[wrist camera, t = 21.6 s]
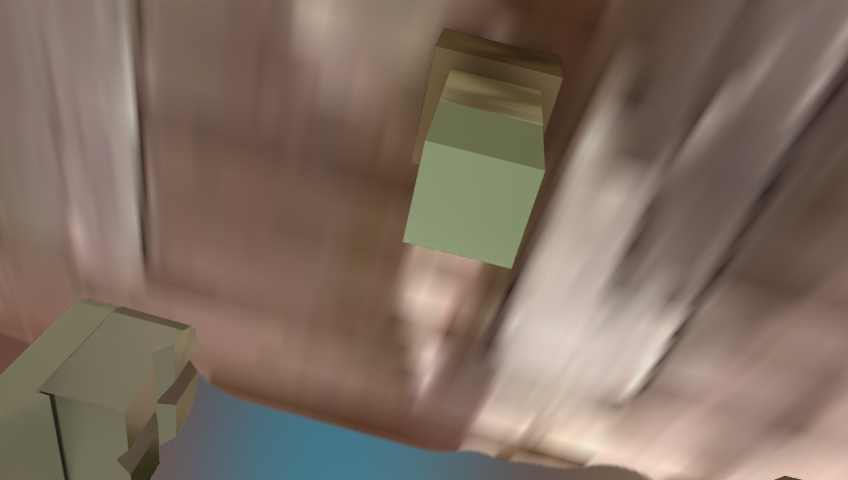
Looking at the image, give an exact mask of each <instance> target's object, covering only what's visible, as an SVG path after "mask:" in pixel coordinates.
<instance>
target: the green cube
mask: <svg viewBox="0 0 848 480" xmlns="http://www.w3.org/2000/svg"><path fill="white" fill-rule="evenodd" d="M544 173H545V157H544V141H543V126H542V125H539V124H535V123H531V122H527V121H523V120H518V119H514V118H510V117H506V116H502V115H498V114H494V113H490V112H486V111H482V110H478V109H474V108H470V107H466V106H462V105H458V104H454V103H450V102H446V101H442V100H440V101H439V103H438V106H437V109H436V112H435V115H434V117H433V120H432V123H431V126H430V129H429V131H428V134H427V137H426V140H425V144H424V148H423V153H422V157H421V162H420V167H419V171H418V176H417V180H416V185H415V189H414V194H413V198H412V203H411V207H410V212H409V216H408V221H407V225H406V230H405V234H404V239H403V242H406V243H410V244H414V245H418V246H422V247H426V248H430V249H434V250H438V251H442V252H446V253H450V254H454V255H458V256H462V257H466V258H470V259H474V260H478V261H482V262H486V263H490V264H494V265H498V266H502V267H506V268H510V269H511V268H512V265H513V262H514V259H515V256H516V253H517V251H518V248H519V245H520V242H521V239H522V236H523V233H524V231H525V228H526V225H527V222H528V219H529V216H530V213H531V210H532V208H533V205H534V202H535V199H536V196H537V193H538V190H539V187H540V185H541V182H542V179H543V176H544Z"/></svg>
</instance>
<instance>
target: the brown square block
mask: <svg viewBox="0 0 848 480" xmlns="http://www.w3.org/2000/svg"><path fill="white" fill-rule="evenodd" d="M451 69H454V70H458V71H462V72H466V73H471V74H475V75H479V76H483V77H487V78H491V79H495V80H499V81H503V82H507V83H511V84H515V85H519V86H523V87H527V88H531V89H535V90H539V91H541V102H542V117H543V137H544V134H545V131H546V128H547V125H548V122H549V119H550V116H551V113H552V110H553V107H554V104H555V101H556V98H557V95H558V92H559V89H560V86H561V83H562V80H563V73H562V67H561V61H560V57H556V56H552V55H548V54H544V53H540V52H536V51H532V50H528V49H524V48H520V47H516V46H512V45H508V44H504V43H500V42H496V41H491V40H487V39H483V38H479V37H475V36H471V35H467V34H463V33H459V32H455V31H451V30H447V29H444V30H443V32H442V34H441V36H440V38H439V40H438V42H437V44H436V47H435V51H434V56H433V61H432V66H431V70H430V75H429V80H428V84H427V89H426V94H425V99H424V103H423V108H422V113H421V117H420V122H419V127H418V132H417V136H416V141H415V146H414V150H413V155H412V160H411V163H414V164H418V165H420V162H421V157H422V153H423V148H424V144H425V140H426V137H427V134H428V131H429V129H430V126H431V123H432V120H433V117H434V115H435V112H436V109H437V106H438V103H439V101H440V98H441V95H442V92H443V90H444V87H445V84H446V81H447V78H448V76H449V73H450V70H451Z"/></svg>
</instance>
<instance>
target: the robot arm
mask: <svg viewBox="0 0 848 480" xmlns="http://www.w3.org/2000/svg"><path fill="white" fill-rule="evenodd" d="M197 348H198V346H197V329H195V328H194V327H192V326H190V325H186V324H183V323H179V322H176V321H172V320H169V319H165V318H161V317H158V316H154V315H151V314H147V313H144V312H140V311H136V310H133V309H129V308H126V307H119V306H116V305H112V304H109V303H105V302H102V301H98V300H95V299H91V298H84V299H82V300H79V301H77V302H75V303H74V304H73V305H72V306H71V307H69V308H68V309H67V310H66V311H65V312H64V313H63V314H62V315H61V316H60V317H59V318H58V319H57V320H56V321H55V322H54V323H53V324H52V325H51V326H50V327H49V328H48V329H47V330H46V331H45V332H44V333H43V334H42V335H41V336H40V337H39V338H38V339H37V340H36V341H35V342H34V343H33V344H31V345H30V346H29V347H28V349H26V350H25V351H24V352H23V353H22V354H21V355H20V356H19V357H18V358H17V359H16V360H15V361H14V362H13V363H12V364H11V365H10V366H9V367H8V368H7V369H6V370H5V371H4V372H3V373H2V374H1V375H0V480H150V479H151V477H152V475H153V474H154V472H155V471H156V469H157V467H158V465H159V464H160V454H159V446H160V445H162V444H163V443H165V442H167V441H169V440H171V439H173V438H174V437H176V436H177V434H178V433H179V431H180V429H181V427H182V426H183V424H184V422H185V421H186V419H187V416H188V413H189V411H190V408H191V406H192V403H193V401H194V397H195V392H196V387H197V369H196V368H195V367H194V365H193V364H192V363H191V361H190V358H191V357H192V355H193V354H194V352H195V351H196V349H197ZM775 480H801V479H797V478H792V477H788V476H783V477H781V478H778V479H775Z"/></svg>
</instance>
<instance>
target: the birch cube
mask: <svg viewBox="0 0 848 480" xmlns="http://www.w3.org/2000/svg"><path fill="white" fill-rule="evenodd" d="M440 100H442V101H446V102H450V103H454V104H458V105H462V106H466V107H470V108H474V109H478V110H482V111H486V112H490V113H494V114H498V115H502V116H506V117H510V118H514V119H518V120H523V121H527V122H531V123H535V124H539V125H542V126H543V117H542V102H541V91H539V90H535V89H531V88H527V87H523V86H519V85H515V84H511V83H507V82H503V81H499V80H495V79H491V78H487V77H483V76H479V75H475V74H471V73H466V72H462V71H458V70H454V69H451V70H450V73H449V76H448V78H447V81H446V84H445V87H444V90H443V92H442V95H441V98H440Z"/></svg>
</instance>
